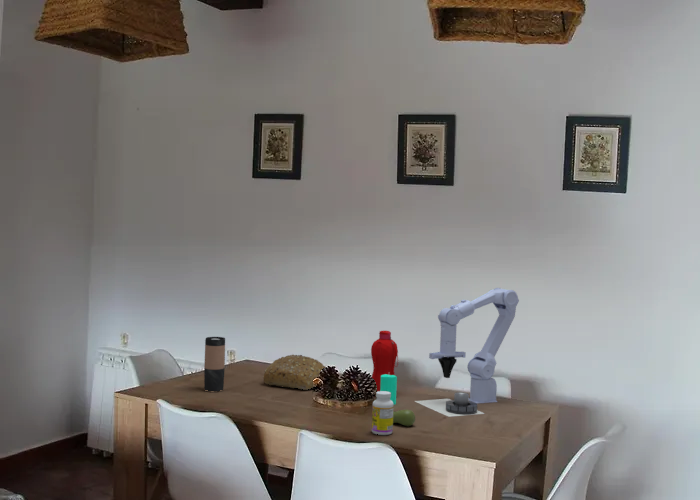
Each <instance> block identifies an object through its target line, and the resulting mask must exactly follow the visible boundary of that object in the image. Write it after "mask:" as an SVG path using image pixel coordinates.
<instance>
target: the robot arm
mask: <svg viewBox="0 0 700 500" xmlns="http://www.w3.org/2000/svg"><path fill="white" fill-rule="evenodd" d="M519 302H520V299H519V296H518V293H517V292H516V291H515V290H514V289H505V288H501V287H495V288H493V289H490V290H488V292H486V293H484V294H482V295H479V296H478V297H476V298H475V299H473V300H471V301H470V300H469V299H461V300H460V302H459V303H456V304H452V305H450V307H443V308H441V309H440V311H439V314H437V318H438V321H439V323H440V341H439V343H440V344H439V345H440V346H439V351H437V352H435V351H434V352H430V353H429V355H428V359H431V360H436V359H437V360H438V362H439V364H440V367H441V370H442V375H443V378H446V379H449V378H451V374H452V372H453V368H454V366H455V365H456V363H457V358H458V359H459V358H466V352H465V351H456V348H457V347H456V345H457V327H458V326H457V325H458V324H459V323H460V321H461V320H463V319H464V318H467V317H469V316H471V315H473V314H474V313H475V310H478V309H480V308H482V307H484V306H487V305H490V304H493V305H494V307H495V308H496V310H497V311H498V316H497V319H496V320H495V323H494V325H493V327H492V329H491V331H490V333H489V334H488V337H487V338H486V341H485V343H484V345H483V346H482V347H481V350H480V351H478V352H477V353H475V354H474V356H473V357H472V358H471V359H470V360H469V361H468V363H467V371H468V373H469V377H470V387H469V388H470V389H469V390H470V391H469V399H468V401H472V402H475V403H477V404H488V403H498V400H497V389H498V388H497V386H498V385H497V381H496V379H495V378H494V377H493V376H494V374H495V368H496V366H497V361H496V358H495V357H496V355H497V354H498V351H499V350H500V347H501V345H502V343H503V341H504V340H505V337H506V335H507V333H508V331H509V329H510V327H511V326H512V323H513V321H514V319H515V318H516V317H515V316H516V312H517V311H516V310H517V306H518V304H519Z"/></svg>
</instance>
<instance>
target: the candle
mask: <svg viewBox="0 0 700 500" xmlns="http://www.w3.org/2000/svg"><path fill="white" fill-rule="evenodd" d="M397 383H398V376H396V374H395V375H387V374H384V375H381V383H380V391H387V392H390V393H391V398H390V400H391V401H392V402H393V404H394V405H397V393H396V391H397V387H398V384H397ZM397 392H398V391H397Z"/></svg>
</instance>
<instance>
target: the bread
mask: <svg viewBox="0 0 700 500" xmlns="http://www.w3.org/2000/svg"><path fill="white" fill-rule="evenodd" d="M325 367H326V368H327V366H326V365H324V364H323V363H322V362H320V361H319V360H318V359H314V358H312V357H310V356H305V355H303V354H298V355H297V354H290V355H286V356H281V357H279V358H277V359H275V360H273V362H272V363H270V364H269V365H268V366H267V367H266V369H265V370H264V373H263V376H262V379H263V382H264V384H266V385H268V384H269V385H268V386H271V385H276V386H275V387H279V386H283V387H282V388H289V387H290V389H294V388H298V390H302V389H303V390H302V391H309V390H311V388H312V389H314V388H313V380H314V379H315V378H317V377H318V376H319V373H320V371H321V370H322V369H323V368H325ZM308 389H309V390H308Z"/></svg>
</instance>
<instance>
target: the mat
mask: <svg viewBox="0 0 700 500" xmlns="http://www.w3.org/2000/svg"><path fill="white" fill-rule="evenodd" d="M449 400H452V399H450V398H441V399H439V398H438V399H437V398H436V399H425V400H424V399H423V400H414V402H415V403H417V404H419V405H421V406H423V407H426V408H428V409H430V410H432V411H435V412H436V413H439V414H441V415H444V416H446V417H449V418H450V417H463V416H465V415H462V414H454V413H450V412H447V411H446V402H447V401H449ZM484 414H486V413H484V412H483V411H480V410H478V409H477V413H475V414H469V415H468V416H473V415H484Z"/></svg>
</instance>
